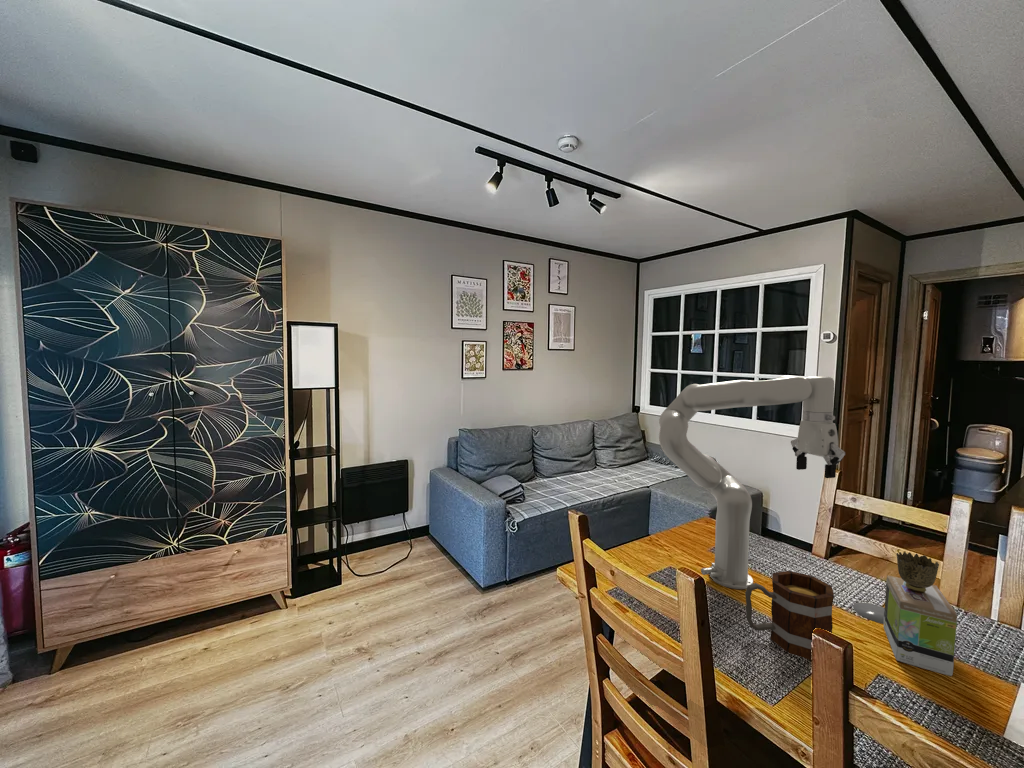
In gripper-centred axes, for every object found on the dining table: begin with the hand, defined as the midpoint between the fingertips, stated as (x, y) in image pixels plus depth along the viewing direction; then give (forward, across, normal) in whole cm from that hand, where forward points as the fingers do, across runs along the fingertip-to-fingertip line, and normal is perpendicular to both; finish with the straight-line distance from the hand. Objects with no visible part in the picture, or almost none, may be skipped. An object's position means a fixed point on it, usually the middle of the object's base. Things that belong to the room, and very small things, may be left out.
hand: (815, 473), depth 129 cm
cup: (+22, -28, -1) cm, 35 cm away
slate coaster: (+37, -14, -7) cm, 40 cm away
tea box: (+37, -28, -1) cm, 46 cm away
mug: (+37, -19, +27) cm, 49 cm away
